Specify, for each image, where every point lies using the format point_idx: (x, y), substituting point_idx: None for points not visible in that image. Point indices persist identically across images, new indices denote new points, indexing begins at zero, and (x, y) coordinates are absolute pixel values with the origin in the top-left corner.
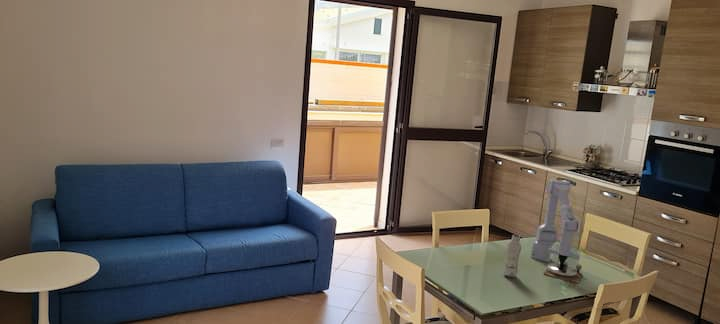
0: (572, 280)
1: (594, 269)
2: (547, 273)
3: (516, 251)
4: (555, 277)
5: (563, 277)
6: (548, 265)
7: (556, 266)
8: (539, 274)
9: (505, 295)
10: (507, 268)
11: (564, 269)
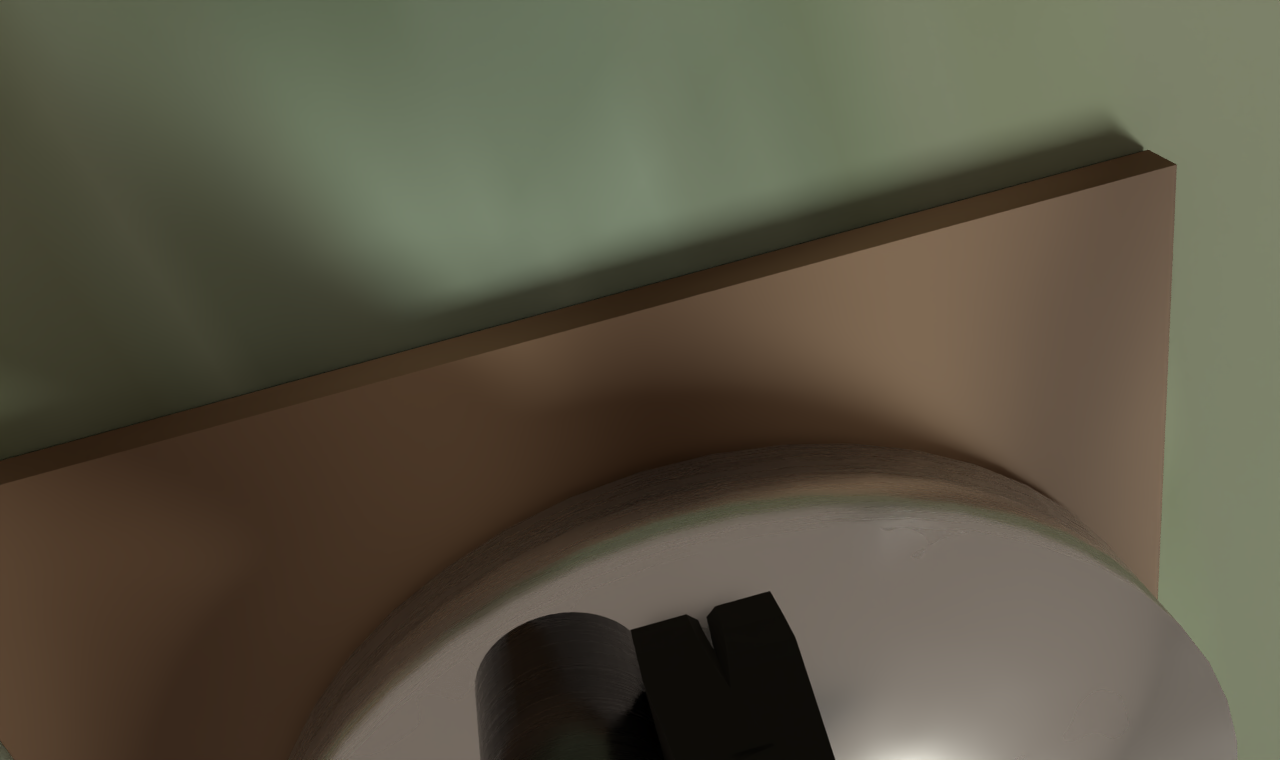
0: (122, 536)
1: None
2: (1054, 310)
3: None
4: (716, 276)
5: (491, 496)
6: (1200, 745)
7: None
8: (1275, 28)
9: None
10: None
11: (554, 747)
